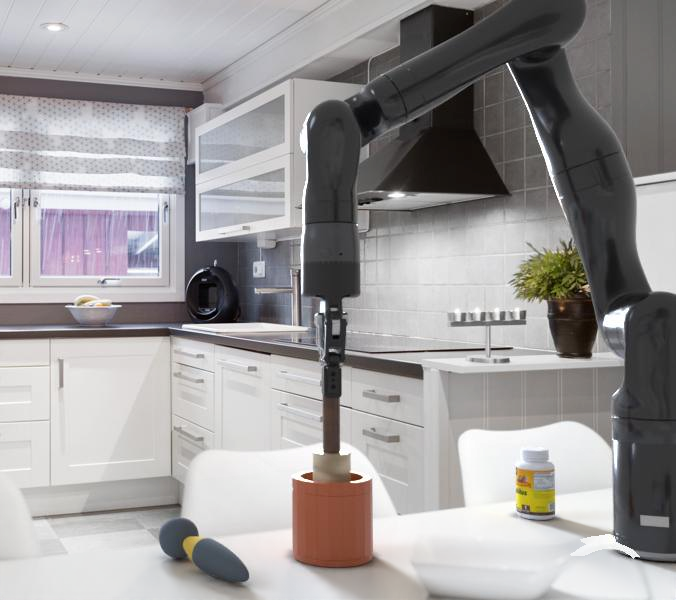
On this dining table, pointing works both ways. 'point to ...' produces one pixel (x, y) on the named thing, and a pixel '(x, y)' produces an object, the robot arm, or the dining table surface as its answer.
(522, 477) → the supplement bottle
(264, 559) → the dining table surface
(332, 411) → the brown rod with cap
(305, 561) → the jar
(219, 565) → the paintbrush
